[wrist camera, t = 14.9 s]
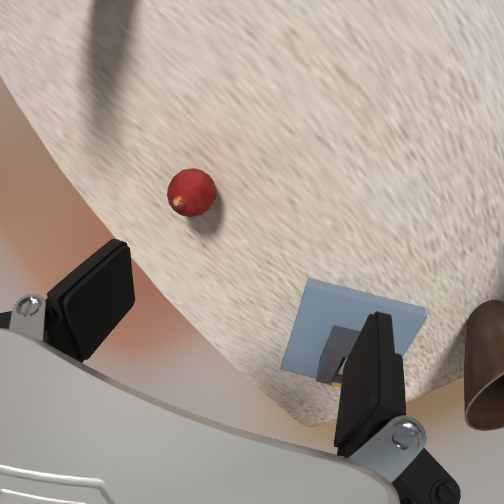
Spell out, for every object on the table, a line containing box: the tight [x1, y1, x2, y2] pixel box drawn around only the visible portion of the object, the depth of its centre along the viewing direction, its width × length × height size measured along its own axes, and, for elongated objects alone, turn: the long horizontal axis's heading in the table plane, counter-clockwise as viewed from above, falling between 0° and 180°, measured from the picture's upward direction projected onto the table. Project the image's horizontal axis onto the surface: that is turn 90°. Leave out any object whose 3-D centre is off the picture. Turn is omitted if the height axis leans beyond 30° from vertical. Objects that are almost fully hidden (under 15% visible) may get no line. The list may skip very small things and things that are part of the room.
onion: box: [167, 168, 216, 217], centre depth 38 cm, size 6×6×8 cm
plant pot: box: [464, 300, 504, 431], centre depth 32 cm, size 15×15×16 cm
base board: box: [280, 278, 427, 378], centre depth 46 cm, size 18×18×2 cm
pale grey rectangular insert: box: [338, 357, 347, 375], centre depth 44 cm, size 2×4×4 cm, turn 172°
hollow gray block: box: [316, 325, 361, 387], centre depth 43 cm, size 7×7×5 cm
